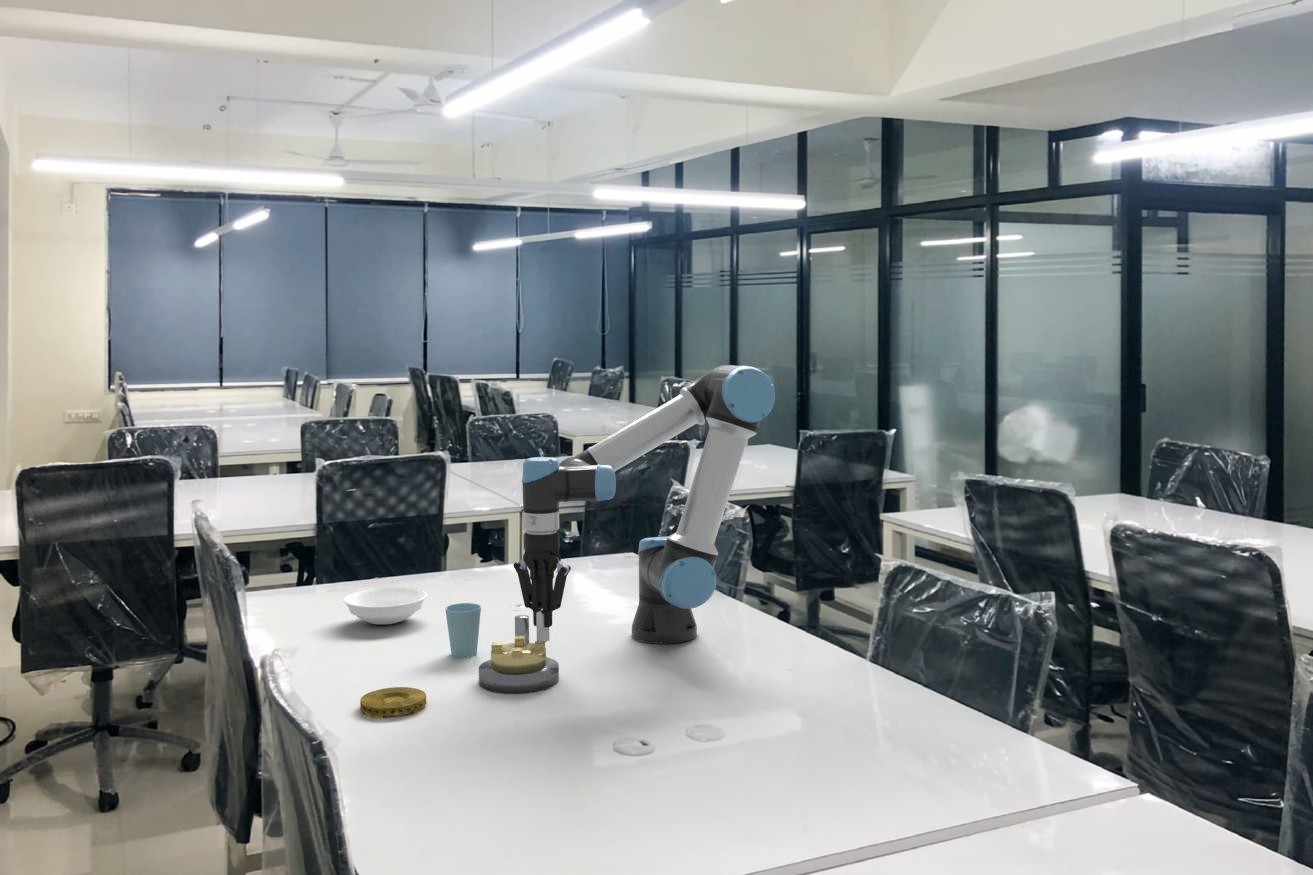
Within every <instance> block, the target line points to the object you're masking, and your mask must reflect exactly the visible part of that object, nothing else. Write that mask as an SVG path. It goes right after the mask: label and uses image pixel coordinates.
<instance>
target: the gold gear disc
mask: <svg viewBox="0 0 1313 875" xmlns="http://www.w3.org/2000/svg"><path fill="white" fill-rule="evenodd" d="M359 701H360V702H359V704H360V710H361V711H362V712H363V713H365V716H366V717H369V718H374V719H383V718H385V717H394V716H401V715H406V714H413V715H415V714H418V713H420V712H422V711H423V710H425V709H426V705H427V694H426V692H425V691H423V690H422V689H419V688H415V687H406V686H400V687H399V686H397V687H396V686H395V687H388V688H387V687H386V688H380V689H376V690H373V691H369V692H368V693H366V694H363V696H361V697H360V699H359Z"/></svg>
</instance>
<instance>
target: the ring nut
mask: <svg viewBox="0 0 1313 875" xmlns="http://www.w3.org/2000/svg"><path fill="white" fill-rule="evenodd" d="M546 657H547V648H546V642H545V641H537V640H536V641H534V643H533V642H530V616H529V615H527V614H520V615H515V616H514V642H511V643H505V644H503V642H502V641H493V642H491V650H490V660H491V667H492V669H493V670H495V671H498V672H503V673H528V672H533V671H537V670H540V669H542V668H544V667H545V666H546Z"/></svg>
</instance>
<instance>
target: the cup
mask: <svg viewBox="0 0 1313 875" xmlns="http://www.w3.org/2000/svg"><path fill="white" fill-rule="evenodd" d="M481 612H482V606H481V605H480V604H478V603H473V602H461V603H460V602H459V603H453V604H449V605H446V607H445V616H446V623H447V631H448V638H449V647H450V653H451V655H452V657H455V658H469V657H472V656H476V655H477V654H478V645H479V644H478V643H479V633H480V624H481V623H480V621H481Z"/></svg>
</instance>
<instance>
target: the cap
mask: <svg viewBox="0 0 1313 875" xmlns="http://www.w3.org/2000/svg"><path fill="white" fill-rule="evenodd" d="M559 667H560V665H559V663H558V661H557V660H555V659H553V658H550V657H548V656H546V666H545V667H544V668H542V669H540V670H537V671H533V672H528V673H503V672H498V671H495V670H493V669H492V667H491V659H488V660H486V661H484V662H482V663H481V664H479V666H478V684H479V687H480V688H481V689H483V690H485V691H488V692H491V693H494V694H495V693H496V694H502V695H504V694H505V695H523V694H524V695H525V694H532V693H538V692H542V691H545V690H549V689H550V688H551V689H552V688H553V687H555V686H556V685H558V684H559V681H560V668H559Z"/></svg>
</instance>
